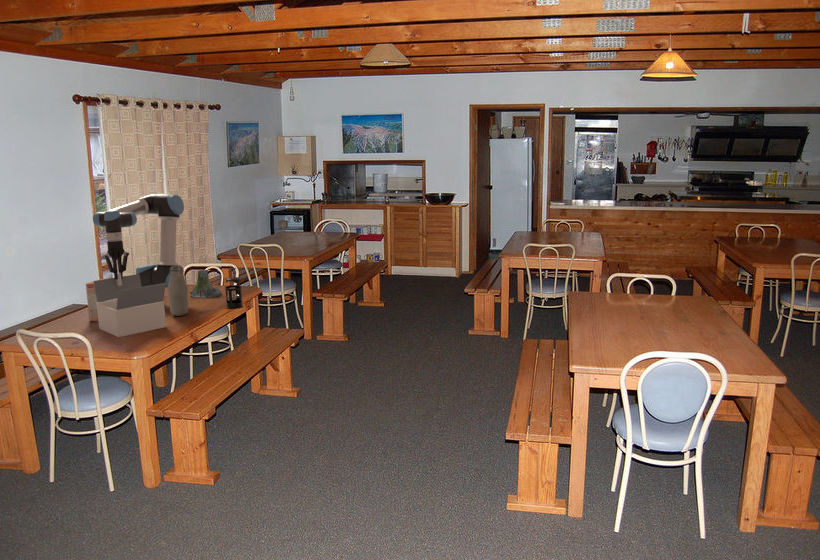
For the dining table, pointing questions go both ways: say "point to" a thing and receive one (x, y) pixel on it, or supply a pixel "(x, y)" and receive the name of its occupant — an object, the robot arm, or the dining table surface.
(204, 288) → the tree stump
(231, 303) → the black lantern
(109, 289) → the flap
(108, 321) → the carton
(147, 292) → the flap
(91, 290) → the cracker box
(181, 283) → the grey bottle
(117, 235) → the robot arm
